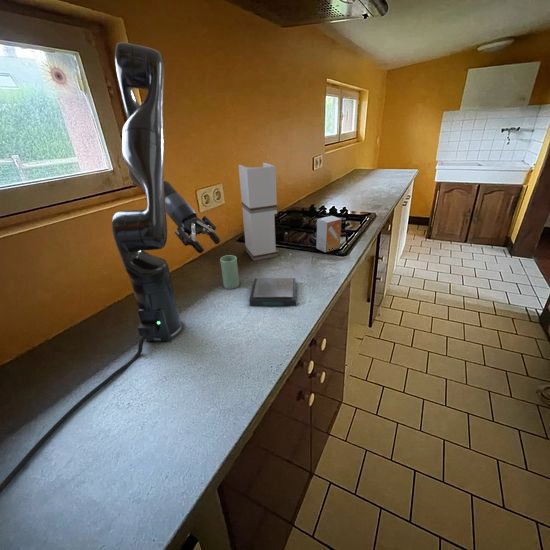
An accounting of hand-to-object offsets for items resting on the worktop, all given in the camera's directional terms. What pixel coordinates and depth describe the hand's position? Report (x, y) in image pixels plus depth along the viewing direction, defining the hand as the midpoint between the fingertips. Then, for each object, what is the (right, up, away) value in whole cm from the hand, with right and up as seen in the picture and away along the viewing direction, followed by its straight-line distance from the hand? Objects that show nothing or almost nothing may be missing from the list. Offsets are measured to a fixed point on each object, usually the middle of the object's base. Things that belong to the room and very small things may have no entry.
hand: (210, 247), depth 100 cm
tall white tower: (+16, 0, +26) cm, 31 cm away
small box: (+44, +2, +28) cm, 52 cm away
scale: (+21, -15, -3) cm, 26 cm away
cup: (+6, -13, +3) cm, 15 cm away
